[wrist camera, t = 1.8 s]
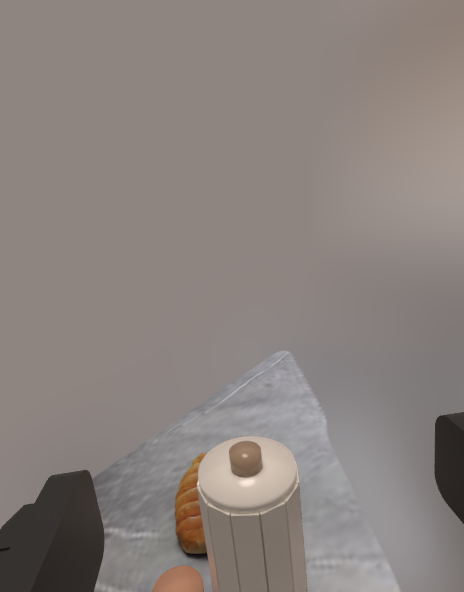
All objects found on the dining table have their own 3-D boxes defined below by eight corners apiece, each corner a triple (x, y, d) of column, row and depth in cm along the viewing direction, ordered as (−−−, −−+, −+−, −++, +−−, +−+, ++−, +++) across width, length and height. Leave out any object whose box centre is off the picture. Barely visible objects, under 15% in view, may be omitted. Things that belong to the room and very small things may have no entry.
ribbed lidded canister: (247, 709, 21) (217, 505, 18) (209, 615, 26) (181, 442, 23) (329, 653, 23) (317, 461, 20) (280, 575, 28) (264, 411, 25)
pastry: (240, 564, 30) (234, 524, 29) (158, 559, 31) (150, 520, 30) (254, 478, 39) (250, 445, 38) (190, 476, 40) (185, 445, 39)
